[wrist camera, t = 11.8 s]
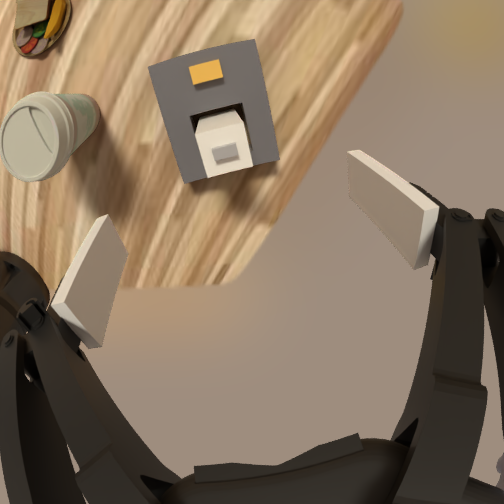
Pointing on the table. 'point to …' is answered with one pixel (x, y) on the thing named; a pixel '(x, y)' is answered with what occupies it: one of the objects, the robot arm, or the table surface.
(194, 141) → the grey charger dock
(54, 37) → the toy sandwich meal
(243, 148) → the block
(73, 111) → the coffee cup
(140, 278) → the table surface
